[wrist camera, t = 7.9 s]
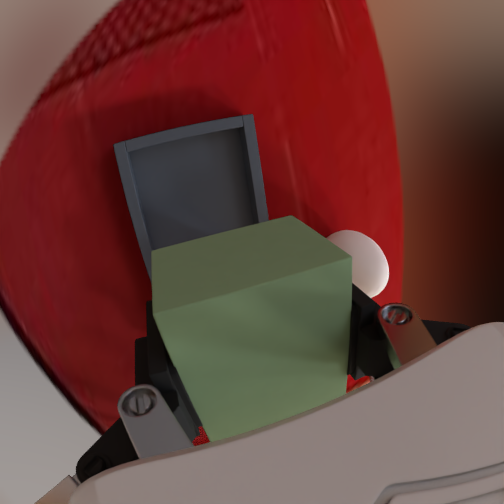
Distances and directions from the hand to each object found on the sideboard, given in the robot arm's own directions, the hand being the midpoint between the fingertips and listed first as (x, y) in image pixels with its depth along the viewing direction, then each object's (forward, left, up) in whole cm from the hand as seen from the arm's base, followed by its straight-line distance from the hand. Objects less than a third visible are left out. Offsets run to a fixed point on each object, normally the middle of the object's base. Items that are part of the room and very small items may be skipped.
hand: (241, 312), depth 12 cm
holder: (0, -2, -13) cm, 13 cm away
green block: (0, 0, 0) cm, 0 cm away
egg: (+11, -6, -14) cm, 19 cm away
